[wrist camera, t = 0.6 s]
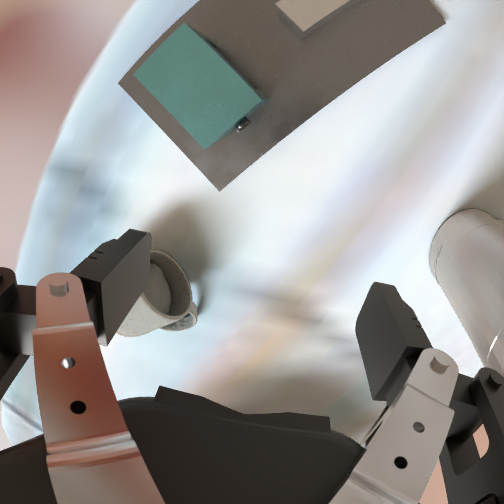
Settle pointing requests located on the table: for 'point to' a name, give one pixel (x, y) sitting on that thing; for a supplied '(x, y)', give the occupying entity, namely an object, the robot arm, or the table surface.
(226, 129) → the block
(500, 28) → the table surface
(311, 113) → the base
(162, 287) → the ceramic mug
